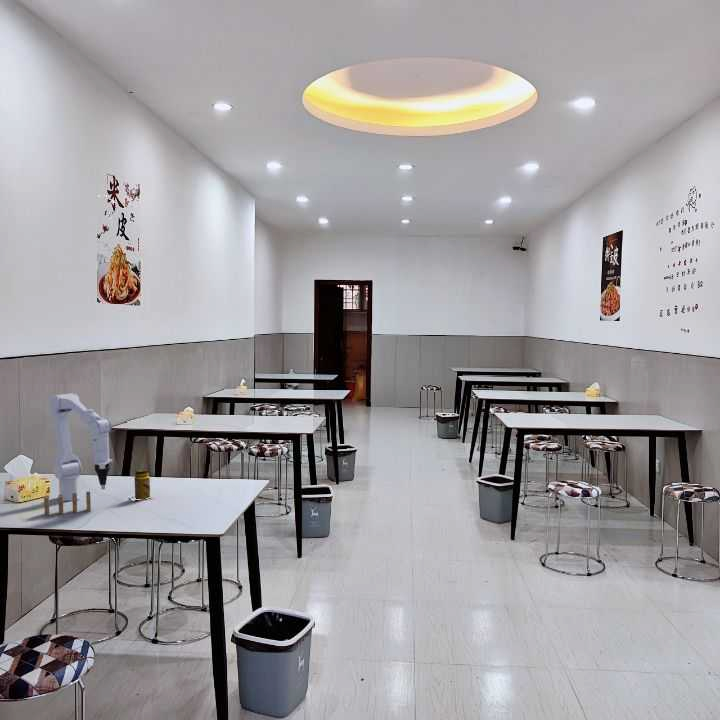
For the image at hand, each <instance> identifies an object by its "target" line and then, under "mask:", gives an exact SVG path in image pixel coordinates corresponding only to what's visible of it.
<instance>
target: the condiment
mask: <svg viewBox="0 0 720 720" xmlns="http://www.w3.org/2000/svg"><path fill="white" fill-rule="evenodd" d="M134 472H135V474H134V475H135V476H134V497H135V498H136V499H146V498H149V497H151V485H150V483H151V481H150V475H149V474H150V473H149V469H147V468H140V469H136V470H135V471H134Z"/></svg>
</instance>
